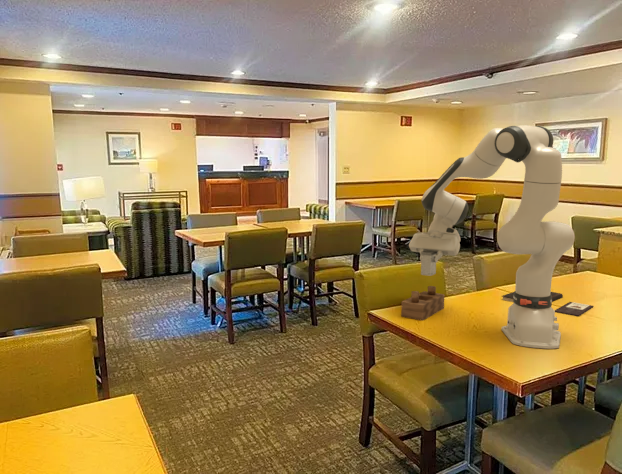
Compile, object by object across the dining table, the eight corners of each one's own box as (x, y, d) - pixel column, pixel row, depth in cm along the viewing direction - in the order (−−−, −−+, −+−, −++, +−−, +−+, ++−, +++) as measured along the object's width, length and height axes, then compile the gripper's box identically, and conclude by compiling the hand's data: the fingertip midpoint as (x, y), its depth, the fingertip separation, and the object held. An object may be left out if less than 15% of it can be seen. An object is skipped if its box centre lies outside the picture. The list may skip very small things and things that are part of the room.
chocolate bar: (554, 310, 188) (569, 301, 201) (553, 313, 189) (569, 303, 201) (578, 315, 182) (593, 305, 194) (578, 317, 182) (593, 308, 194)
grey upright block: (430, 276, 185) (431, 253, 184) (420, 274, 188) (421, 252, 186) (436, 273, 189) (436, 251, 188) (426, 272, 192) (426, 250, 190)
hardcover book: (501, 300, 207) (501, 295, 207) (527, 292, 222) (527, 287, 221) (537, 308, 195) (538, 303, 195) (562, 298, 209) (563, 293, 209)
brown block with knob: (422, 320, 180) (423, 295, 178) (401, 316, 185) (401, 291, 184) (444, 308, 195) (444, 284, 194) (423, 304, 201) (424, 281, 199)
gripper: (413, 227, 198) (401, 253, 191) (460, 230, 185) (450, 258, 179) (417, 236, 202) (406, 262, 196) (464, 240, 189) (454, 268, 183)
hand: (428, 260), depth 187 cm, fingers closed on grey upright block, 4 cm apart
